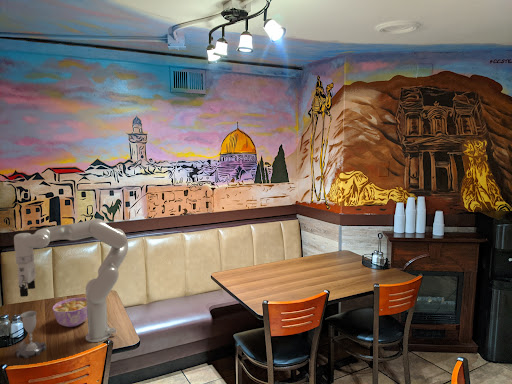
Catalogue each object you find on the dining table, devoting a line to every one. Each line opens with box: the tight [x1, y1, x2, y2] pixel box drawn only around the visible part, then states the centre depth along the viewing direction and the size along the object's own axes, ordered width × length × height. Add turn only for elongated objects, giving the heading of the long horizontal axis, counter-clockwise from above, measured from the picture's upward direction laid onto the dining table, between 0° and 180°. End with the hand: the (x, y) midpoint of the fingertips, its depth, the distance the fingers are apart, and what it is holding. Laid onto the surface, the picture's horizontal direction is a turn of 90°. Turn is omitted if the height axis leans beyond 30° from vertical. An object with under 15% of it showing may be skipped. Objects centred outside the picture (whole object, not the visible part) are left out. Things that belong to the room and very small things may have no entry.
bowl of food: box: [52, 297, 88, 328], centre depth 217 cm, size 20×20×12 cm
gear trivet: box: [16, 341, 47, 359], centre depth 188 cm, size 13×13×2 cm
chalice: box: [20, 310, 38, 351], centre depth 187 cm, size 7×7×18 cm
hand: (28, 292), depth 185 cm, fingers open, 9 cm apart
